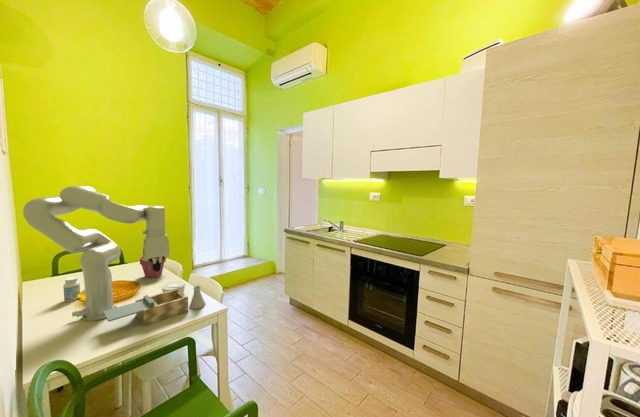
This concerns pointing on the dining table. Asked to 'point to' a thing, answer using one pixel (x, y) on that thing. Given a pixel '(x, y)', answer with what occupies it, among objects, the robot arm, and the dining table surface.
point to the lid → (129, 309)
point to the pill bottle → (71, 289)
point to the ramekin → (174, 286)
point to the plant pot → (151, 268)
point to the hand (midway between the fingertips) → (156, 270)
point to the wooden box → (164, 307)
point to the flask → (197, 299)
